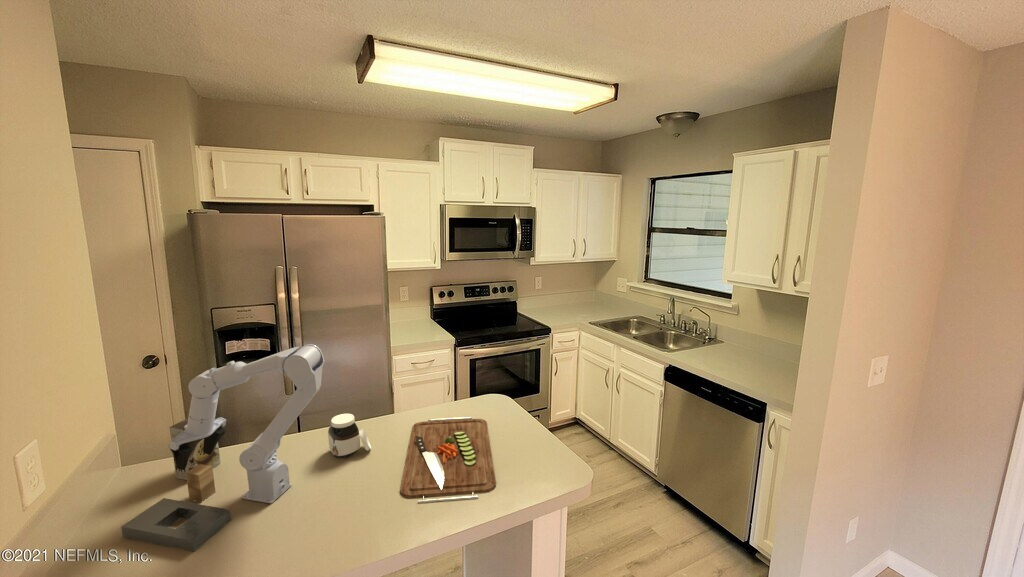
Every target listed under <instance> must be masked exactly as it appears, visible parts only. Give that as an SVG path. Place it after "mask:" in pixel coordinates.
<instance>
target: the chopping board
mask: <svg viewBox="0 0 1024 577" xmlns="http://www.w3.org/2000/svg"><path fill="white" fill-rule="evenodd" d="M489 434H490V433H489V427H488V422H487V421H486V420H485V419H483V418H473V417H472V416H468V417H467V416H466V417H445V418H432V419H431V418H429V419H428V420H427V421H419V422H415V423H414V424H413V425H412V427H411V431H410V438H409V441H408V447H407V452H406V458H405V462H404V467H403V472H402V478H401V481H400V482H401V483H400V486H399V487H400V488H399V489H400V495H402V497H405V498H410V499H412V498H422V499H418V500H417V504H424V503H425V504H426V503H429V504H430V503H440V502H451V501H453V502H454V501H463V500H464V501H465V500H477V499H479V495H475V494H478V493H486V492H490V491H492V490H494V489H495V487H496V485H497V480H496V472H495V467H494V459H493V454H492V453H493V452H492V445H491V440H490V435H489ZM462 494H464V495H465V494H471V495H469V496H455V497H444V498H433V499H432V498H430V499H425V497H435V496H436V497H437V496H448V495H449V496H451V495H452V496H453V495H462Z"/></svg>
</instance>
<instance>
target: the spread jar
mask: <svg viewBox="0 0 1024 577" xmlns="http://www.w3.org/2000/svg"><path fill="white" fill-rule="evenodd" d="M354 415H355V414H354ZM354 415H353V414H352V413H342V414H341V413H340V414H338V415H334V416H333V417H332V418H331V419H330V425H329V428H328V429H327V430H328V431H327V434H328V435H327V436H328V437H327V438H328V445H329V446H328V447H329V450H330V453H331V454H332V456H333V457H334V458H337V459H345V458H349V457H351V456H353V455H355V454H356V453H357V452H358V451H359V450H360V447H361V443H362V445H363V447H364V449H365V451H367V452H368V451H370V450H371V449H372V446H371V445H372V444H371V442H370V440H369V438H368V435H367V433H366V431H365V429H360V430H359V427H358V425H357V423H356V422H355V416H354Z"/></svg>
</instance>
